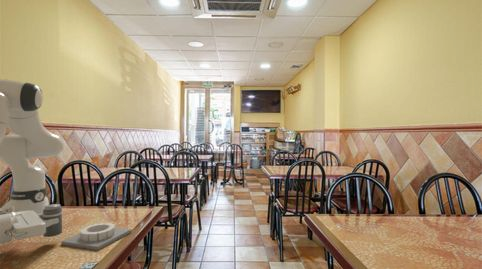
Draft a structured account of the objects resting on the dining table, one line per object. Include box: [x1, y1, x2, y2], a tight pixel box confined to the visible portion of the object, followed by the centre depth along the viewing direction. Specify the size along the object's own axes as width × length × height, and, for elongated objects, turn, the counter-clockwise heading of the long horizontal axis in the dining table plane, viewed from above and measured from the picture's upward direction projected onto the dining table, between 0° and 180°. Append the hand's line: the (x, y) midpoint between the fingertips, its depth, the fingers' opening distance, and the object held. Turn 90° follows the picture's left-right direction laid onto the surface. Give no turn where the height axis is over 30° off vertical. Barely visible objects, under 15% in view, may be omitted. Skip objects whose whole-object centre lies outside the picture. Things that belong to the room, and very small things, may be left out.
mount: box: [61, 222, 132, 251], centre depth 95 cm, size 16×16×4 cm
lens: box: [42, 203, 63, 238], centre depth 91 cm, size 6×6×10 cm
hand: (55, 217), depth 92 cm, fingers closed on lens, 5 cm apart
